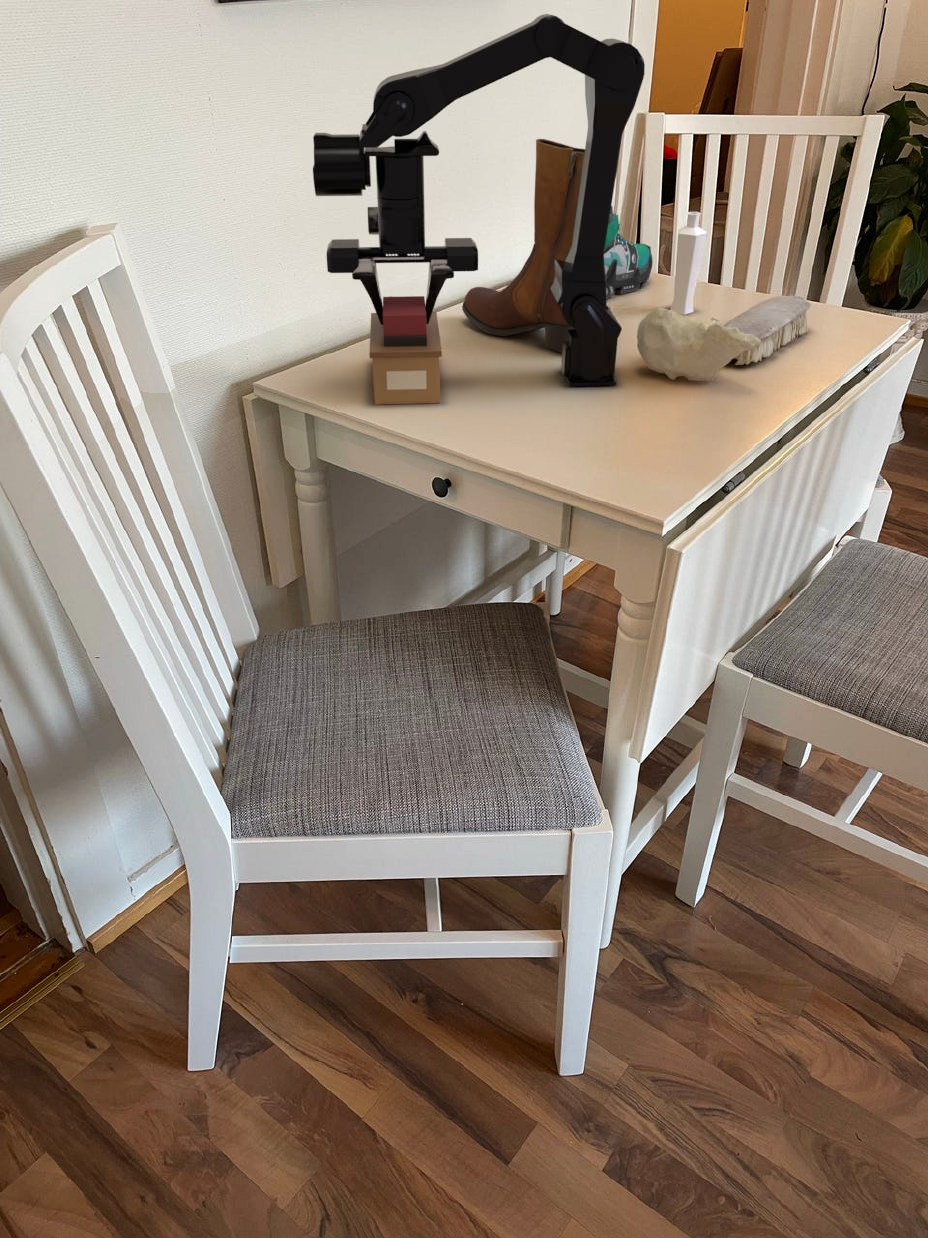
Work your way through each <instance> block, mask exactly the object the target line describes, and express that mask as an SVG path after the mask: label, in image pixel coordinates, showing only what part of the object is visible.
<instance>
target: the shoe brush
mask: <svg viewBox="0 0 928 1238" xmlns="http://www.w3.org/2000/svg"><path fill="white" fill-rule="evenodd" d="M811 305H812V304H811V303H810V301H809V300H807V299H806V298H802V297H801V296H796V295H779V296H773V297H770V298H768V299H765V300H763V301H761V302H759V303H757V304H755V305H753V306H751V307H750V308H749V309H748V310H746V311H744V312H742V313H740V314H738V315H737V316H735V317H734V318H732V319H730V320H729V321H727V322H726V323H724V325H723V326H725V327H729V328H733V327H737V328H738V330H739V331H740V332H741V333H744V334H751V335H753V336H755V337H757V338H759V339H760V340H761V343H760V344H759V345H758V346H757V347H755V348H752V349H750V350H745V351H743V352H741V353H740V354H739V355H738V356H737V357H735V358H733V359H734V360H737V361H736V362H735V363H734V365H735V366H743V365H744V364H745V366H748V365H750V364H751V362H753V363H758V361H760V362H762V358H763V359H764V358H765V359H767V358H769V357H770V356H771V355H773V352H776V350H777V349H778V350H780V348H781V347H785V346H786V345H787V344H788V343H790V342H791V341H795V340H796V337H797V338H798V337H799V336H800V337H801V335H803V334H804V335H805V334H806V333H807V332H809V329H808V316H807V315H808V314H807V311H808V310H809V309H810V308H811ZM731 362H732V360H731V361H730V362H729V363H731Z"/></svg>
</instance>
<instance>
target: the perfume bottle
mask: <svg viewBox="0 0 928 1238" xmlns="http://www.w3.org/2000/svg"><path fill="white" fill-rule="evenodd" d="M686 215H687V219H686V225H685V226H682V227H681V228H680V227H679V228H678V229H677V241H676V242H677V243H676V258H675V273H674V275H675V276H674V288H673V300H672V303H671V306H670V309H669V310H671V311H674V312H676V313H678V314H680V315H683V316H685V315H688V314H692V313H694V312H695V311H694V302H693V301H694V296H695V292H696V287H697V282H698V279H699V278H698V277H699V274H700V268H701V263H702V258H703V254H704V249H705V244H706V239H707V235H708V232H707V231H705V230H704V229H703V228H701V227H700V226H699V225H700V217H701V215H702V213H701V212H699V211H687V213H686Z"/></svg>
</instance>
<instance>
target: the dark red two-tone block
mask: <svg viewBox="0 0 928 1238" xmlns="http://www.w3.org/2000/svg"><path fill="white" fill-rule="evenodd" d="M382 305H383V331H384V347H393V346H427V324H426V307H425V305H426V297H425V296H424V295H416V296H414V295H412V296H409V295H408V296H407V295H406V296H383V297H382Z"/></svg>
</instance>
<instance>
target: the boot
mask: <svg viewBox="0 0 928 1238" xmlns="http://www.w3.org/2000/svg"><path fill="white" fill-rule="evenodd" d="M584 154H585V148H579V147H574V146H570V145H567V144H564V143H562V142H561V143H560V142H557V141H553V140H549V139H545V138H537V139H535V172H534V173H535V174H534V175H535V177H534V197H533V199H534V201H533V208H534V209H533V214H534V215H533V216H534V217H533V218H534V219H533V220H534V223H533V224H534V230H533V231H534V233H533V237H534V239H533V240H534V241H533V242H534V243H533V246H532V249H531V252H530V254H529V256H528V257H527V259H526V261H525V263H524V264H523V266H522V268H521V270H520V271H519V273H518V274H517V275H516V277H515V278H513V280H512V281H511V282H510V283H508V285H507V286H505V287H504V288H503V289H502V290H500V291H499V290H497V289H493V288H489V287H486V286H485V287H484V286H475V287H472V288H470V289H469V290H468V291H467V293H466V294H465V297H464V300H463V302H462V306H461V308H462V312H463V315H465V317H466V318H467V319H468V321H469V322H470V323H471V324H473V326H475V327H476V328H478V329H480V331H483V332H484V333H486V334H489V335H492V336H497V337H498V336H499V337H507V336H513V335H519V334H523V333H527V332H528V333H529V332H532V331H536V330H540V329H544V347H545V348H546V349H549V350H552V351H554V352H556V353H560V354H562V350H563V342H564V341H567V336H568V330H569V329H574V328H573V327H572V326H570V325H569V324H568V323H567V322H566V321H565V319H564V317H563V315H562V313H561V311H560V309H559V307H558V305H557V303H556V300H555V297H554V295H553V293H552V291H551V287H552V285H553V283H554V279H555V260H556V259H558V260H562V261H565V260H566V258H567V256H568V254H569V252H570V249H571V246H572V241H573V234H574V227H575V219H576V212H577V205H578V197H579V190H580V183H581V175H582V168H583V161H584ZM618 169H619V162H618V166H617V172H616V176H617V174H618ZM616 179H617V177H616V178H615V180H616Z"/></svg>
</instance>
